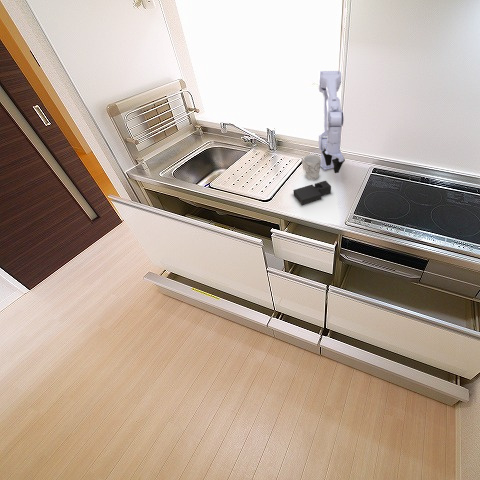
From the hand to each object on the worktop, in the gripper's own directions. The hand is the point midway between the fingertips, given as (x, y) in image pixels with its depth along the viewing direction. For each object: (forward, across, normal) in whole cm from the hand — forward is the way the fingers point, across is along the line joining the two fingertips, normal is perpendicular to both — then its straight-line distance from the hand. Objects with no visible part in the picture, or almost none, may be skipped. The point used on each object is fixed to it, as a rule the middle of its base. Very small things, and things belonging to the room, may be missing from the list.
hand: (332, 168), depth 122 cm
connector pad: (+9, +3, -7) cm, 12 cm away
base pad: (+9, +3, -15) cm, 18 cm away
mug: (+10, -13, -5) cm, 17 cm away
